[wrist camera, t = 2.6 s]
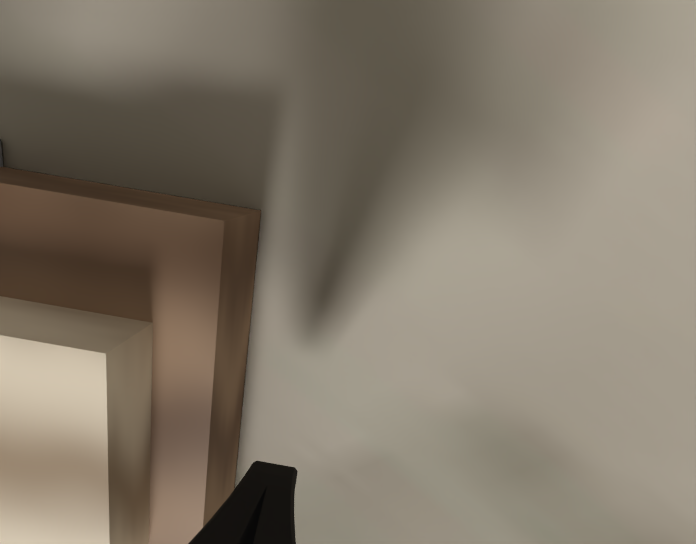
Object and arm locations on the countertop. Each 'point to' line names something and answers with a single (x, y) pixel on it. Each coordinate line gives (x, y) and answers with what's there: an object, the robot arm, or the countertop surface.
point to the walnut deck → (150, 313)
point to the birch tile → (73, 426)
